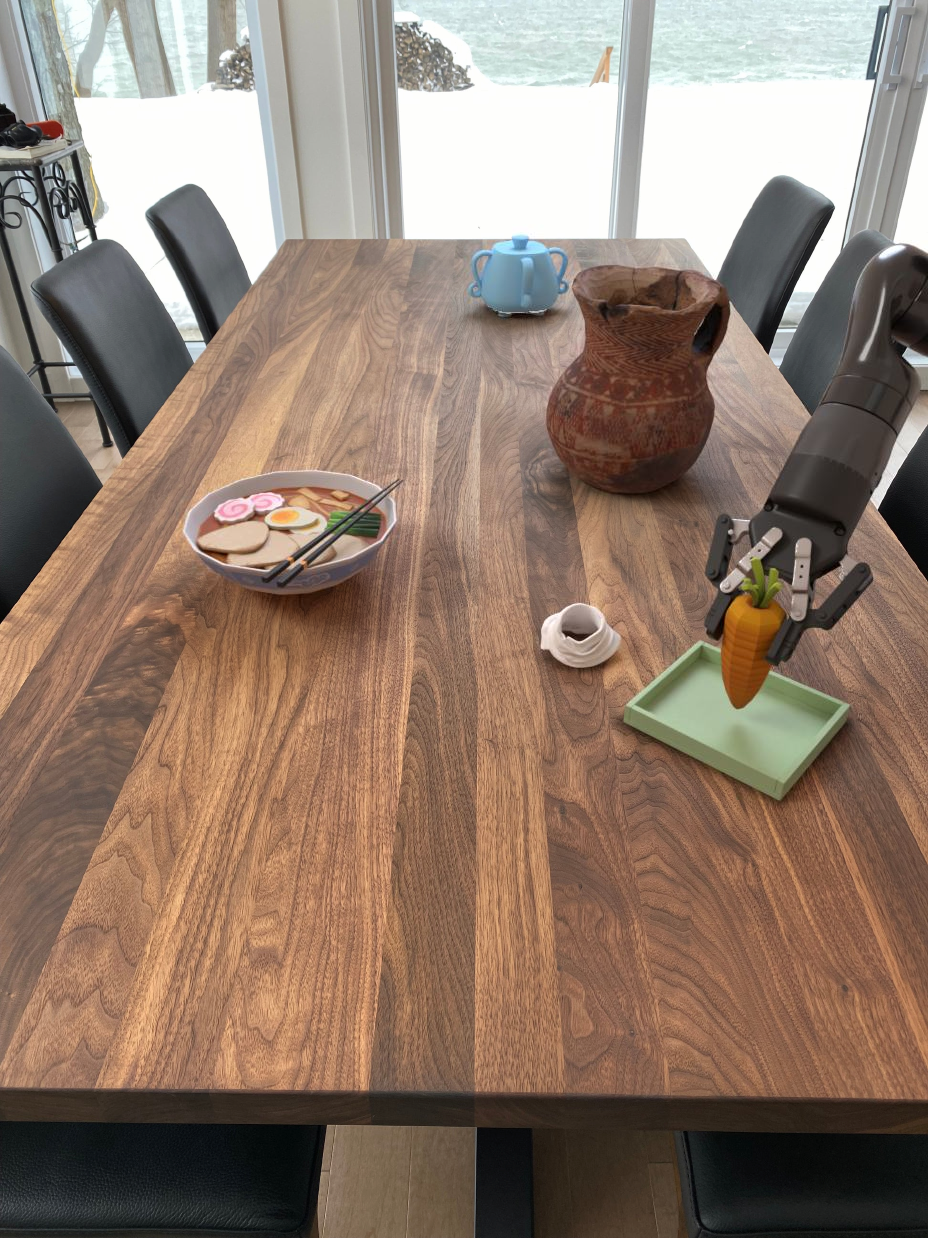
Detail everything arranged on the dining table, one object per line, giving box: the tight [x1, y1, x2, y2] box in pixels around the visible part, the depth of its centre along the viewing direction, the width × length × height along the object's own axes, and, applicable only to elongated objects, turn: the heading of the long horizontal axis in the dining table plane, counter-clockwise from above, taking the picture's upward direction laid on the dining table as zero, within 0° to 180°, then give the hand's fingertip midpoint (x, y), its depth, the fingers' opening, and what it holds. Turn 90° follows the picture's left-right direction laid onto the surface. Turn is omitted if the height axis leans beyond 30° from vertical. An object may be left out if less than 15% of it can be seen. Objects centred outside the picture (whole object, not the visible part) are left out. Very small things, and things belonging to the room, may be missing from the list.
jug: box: [545, 264, 731, 495], centre depth 123 cm, size 22×21×25 cm
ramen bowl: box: [181, 469, 404, 596], centre depth 106 cm, size 25×23×8 cm
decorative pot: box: [468, 234, 570, 318], centre depth 186 cm, size 16×16×14 cm
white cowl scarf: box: [540, 602, 622, 669], centre depth 96 cm, size 8×7×5 cm
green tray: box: [622, 639, 851, 802], centre depth 87 cm, size 15×13×2 cm
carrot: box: [720, 557, 788, 710], centre depth 83 cm, size 5×5×15 cm
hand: (741, 649), depth 82 cm, fingers closed on carrot, 5 cm apart
